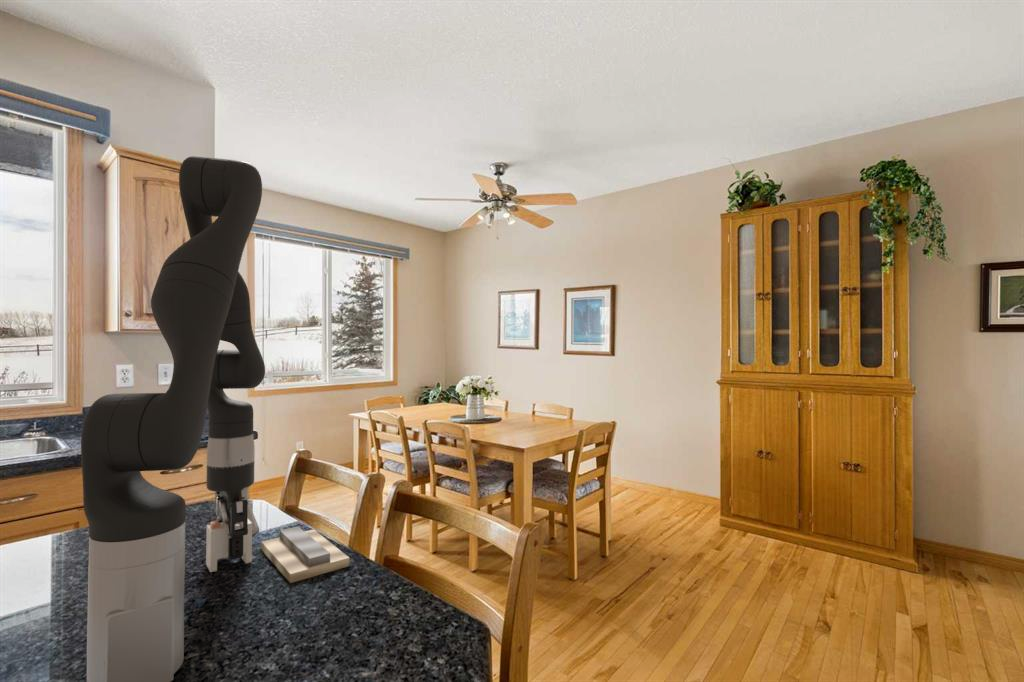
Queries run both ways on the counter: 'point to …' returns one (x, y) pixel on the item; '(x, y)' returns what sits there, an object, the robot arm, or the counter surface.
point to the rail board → (296, 564)
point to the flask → (250, 512)
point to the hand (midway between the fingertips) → (230, 550)
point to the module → (224, 544)
